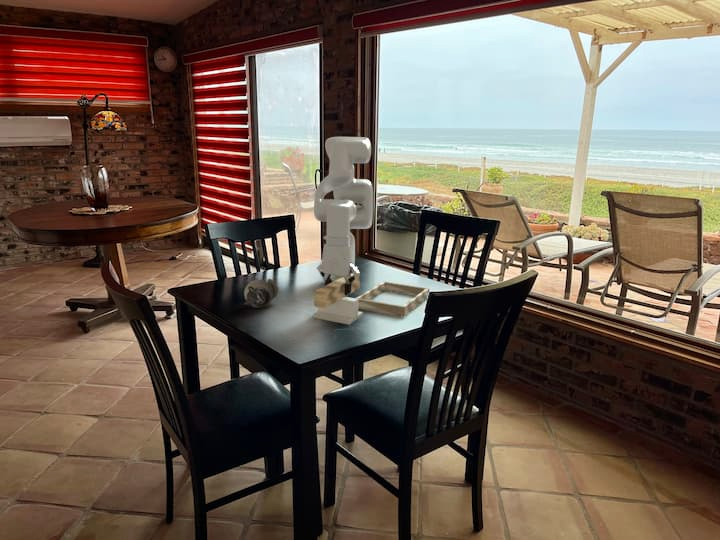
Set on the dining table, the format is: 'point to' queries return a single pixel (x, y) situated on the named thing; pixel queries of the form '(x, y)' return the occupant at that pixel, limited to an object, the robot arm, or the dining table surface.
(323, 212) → the robot arm
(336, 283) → the oak batten
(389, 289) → the birch crate frame
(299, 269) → the dining table surface
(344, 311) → the ridge block
